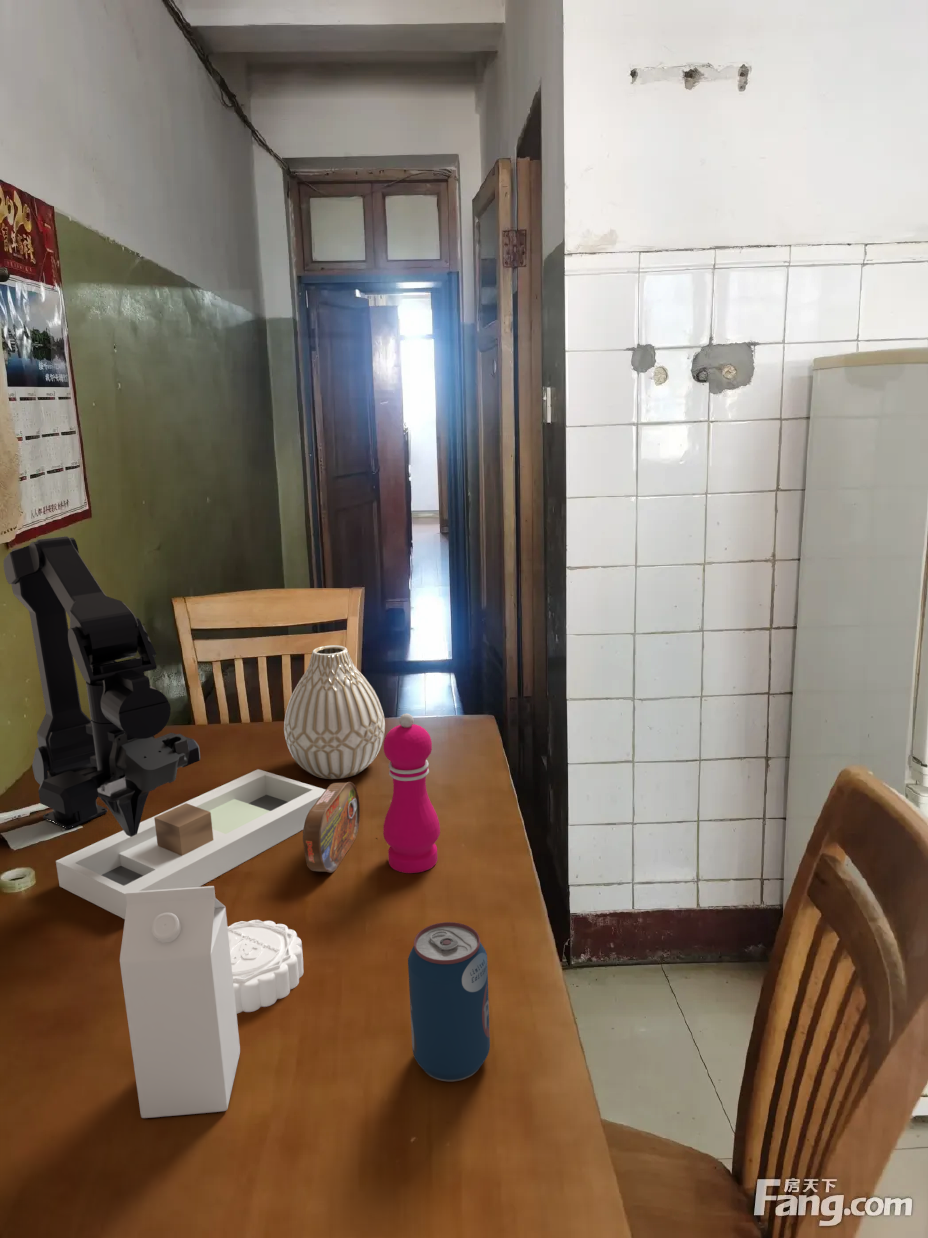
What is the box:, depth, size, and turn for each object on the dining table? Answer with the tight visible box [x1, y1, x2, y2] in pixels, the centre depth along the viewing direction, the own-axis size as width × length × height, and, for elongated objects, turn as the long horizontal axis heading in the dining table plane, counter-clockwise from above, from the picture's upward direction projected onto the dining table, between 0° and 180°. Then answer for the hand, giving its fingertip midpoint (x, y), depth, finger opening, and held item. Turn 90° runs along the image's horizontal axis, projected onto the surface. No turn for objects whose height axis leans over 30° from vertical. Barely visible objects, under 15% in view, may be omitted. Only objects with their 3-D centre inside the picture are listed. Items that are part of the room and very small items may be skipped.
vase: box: [283, 645, 386, 780], centre depth 143 cm, size 16×16×20 cm
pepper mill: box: [382, 713, 441, 874], centre depth 113 cm, size 7×7×20 cm
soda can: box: [407, 921, 491, 1082], centre depth 79 cm, size 7×7×12 cm
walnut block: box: [154, 802, 213, 856], centre depth 117 cm, size 5×5×4 cm
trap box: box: [55, 768, 326, 920], centre depth 120 cm, size 15×33×4 cm, turn 145°
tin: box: [302, 781, 361, 873], centre depth 117 cm, size 15×3×8 cm, turn 168°
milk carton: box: [119, 885, 241, 1119], centre depth 76 cm, size 7×7×19 cm
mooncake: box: [227, 919, 304, 1014], centre depth 93 cm, size 12×12×4 cm
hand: (131, 835), depth 111 cm, fingers closed
